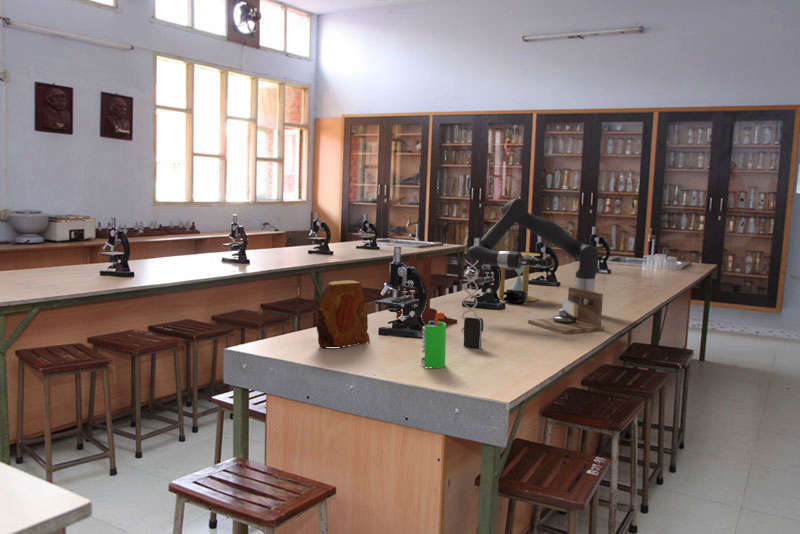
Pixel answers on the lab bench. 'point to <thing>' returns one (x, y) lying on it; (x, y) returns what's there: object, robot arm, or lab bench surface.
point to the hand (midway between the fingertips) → (546, 263)
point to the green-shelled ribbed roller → (434, 343)
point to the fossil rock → (342, 315)
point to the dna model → (471, 289)
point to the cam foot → (567, 308)
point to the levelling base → (586, 316)
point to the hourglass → (518, 280)
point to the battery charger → (473, 331)
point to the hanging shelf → (428, 312)
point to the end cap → (515, 297)
